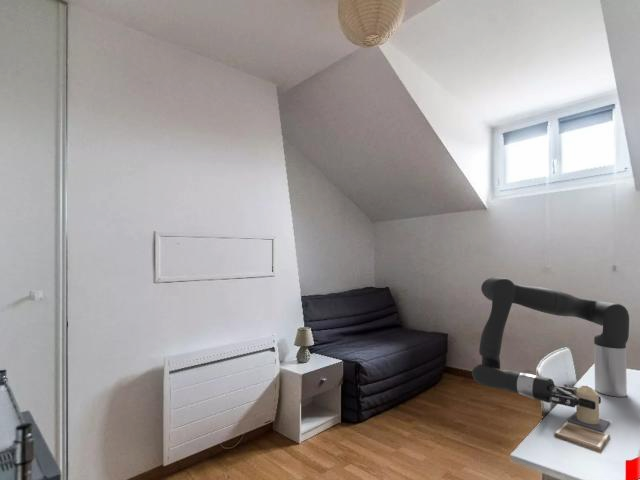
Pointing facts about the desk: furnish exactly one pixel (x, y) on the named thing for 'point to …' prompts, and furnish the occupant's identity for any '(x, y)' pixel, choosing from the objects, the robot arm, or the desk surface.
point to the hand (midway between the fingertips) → (597, 403)
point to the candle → (586, 413)
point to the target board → (582, 436)
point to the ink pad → (599, 427)
